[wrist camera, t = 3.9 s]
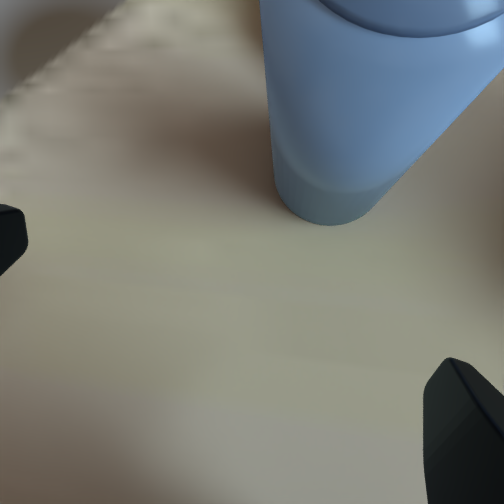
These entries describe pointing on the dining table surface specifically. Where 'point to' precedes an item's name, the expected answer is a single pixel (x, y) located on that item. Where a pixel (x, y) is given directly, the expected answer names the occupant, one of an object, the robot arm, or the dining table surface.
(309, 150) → the vase
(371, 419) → the dining table surface
